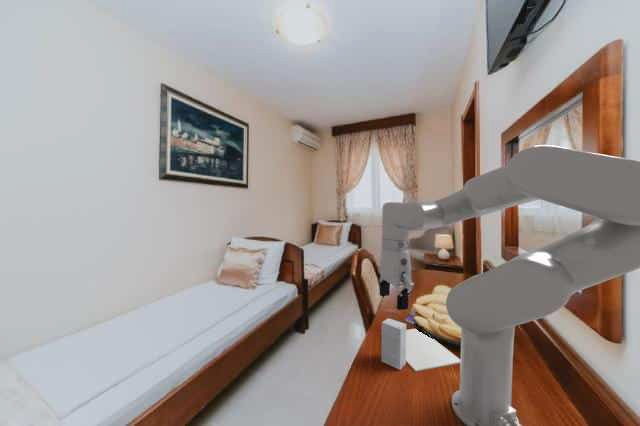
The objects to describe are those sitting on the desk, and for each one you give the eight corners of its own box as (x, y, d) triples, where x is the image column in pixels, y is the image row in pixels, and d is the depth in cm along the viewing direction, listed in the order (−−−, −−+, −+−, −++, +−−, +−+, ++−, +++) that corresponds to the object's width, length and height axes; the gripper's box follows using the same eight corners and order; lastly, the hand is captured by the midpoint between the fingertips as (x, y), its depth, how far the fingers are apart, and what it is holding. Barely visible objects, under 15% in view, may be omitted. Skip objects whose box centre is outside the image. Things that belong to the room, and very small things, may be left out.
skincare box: (406, 363, 72) (407, 324, 72) (400, 370, 69) (400, 329, 69) (387, 354, 77) (388, 317, 76) (380, 361, 73) (381, 322, 73)
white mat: (462, 362, 73) (462, 361, 73) (415, 371, 69) (415, 370, 69) (419, 329, 92) (419, 328, 92) (380, 334, 88) (380, 333, 88)
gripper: (425, 250, 64) (423, 314, 65) (390, 239, 81) (389, 290, 82) (400, 251, 62) (397, 317, 63) (369, 240, 79) (368, 292, 80)
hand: (392, 301), depth 72 cm, fingers open, 9 cm apart
